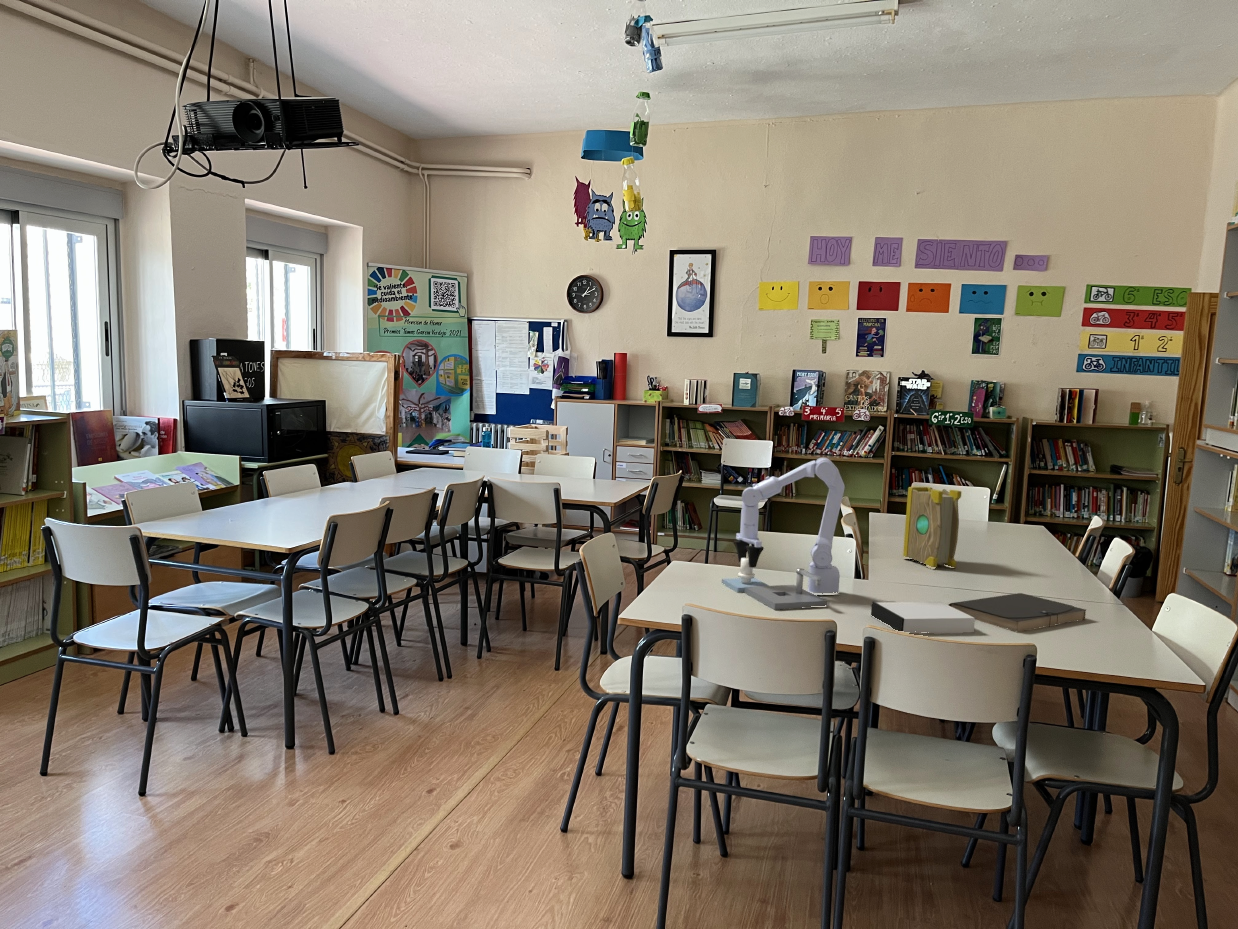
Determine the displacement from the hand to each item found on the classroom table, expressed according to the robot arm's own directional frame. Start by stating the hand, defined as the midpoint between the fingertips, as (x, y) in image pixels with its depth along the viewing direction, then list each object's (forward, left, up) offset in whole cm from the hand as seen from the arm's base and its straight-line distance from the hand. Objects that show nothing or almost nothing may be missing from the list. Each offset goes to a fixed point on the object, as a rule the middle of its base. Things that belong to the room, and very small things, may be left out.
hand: (747, 564), depth 277 cm
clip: (-10, +22, -1) cm, 24 cm away
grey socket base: (-5, +17, -8) cm, 19 cm away
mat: (0, 0, -8) cm, 8 cm away
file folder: (-69, +45, -8) cm, 83 cm away
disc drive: (-32, +48, -8) cm, 58 cm away
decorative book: (-90, -22, -8) cm, 93 cm away
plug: (0, 0, -6) cm, 6 cm away
